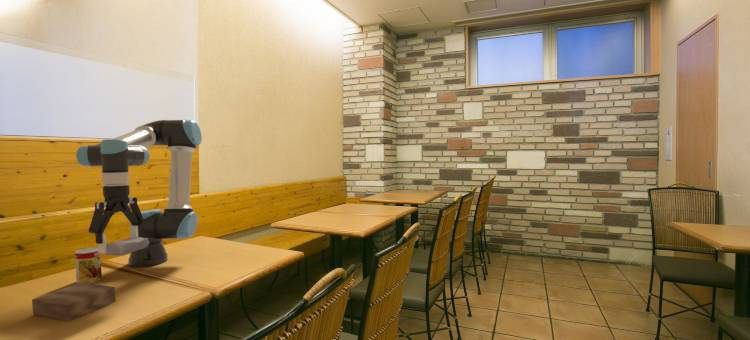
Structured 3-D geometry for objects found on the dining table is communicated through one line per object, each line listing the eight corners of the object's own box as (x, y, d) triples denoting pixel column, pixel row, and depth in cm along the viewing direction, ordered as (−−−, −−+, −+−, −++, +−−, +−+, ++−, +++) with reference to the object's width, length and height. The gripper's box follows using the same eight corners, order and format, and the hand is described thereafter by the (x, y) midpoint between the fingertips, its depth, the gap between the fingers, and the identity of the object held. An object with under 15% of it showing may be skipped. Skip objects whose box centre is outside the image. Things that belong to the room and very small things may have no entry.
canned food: (104, 280, 148) (102, 250, 147) (78, 285, 142) (76, 254, 142) (99, 275, 154) (97, 246, 153) (75, 280, 148) (73, 250, 147)
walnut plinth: (82, 296, 132) (81, 282, 132) (115, 301, 128) (114, 286, 128) (33, 315, 118) (32, 299, 118) (68, 321, 114) (67, 304, 113)
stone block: (98, 259, 125) (123, 255, 123) (95, 245, 125) (120, 240, 123) (129, 251, 137) (152, 247, 135) (126, 238, 137) (149, 233, 135)
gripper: (137, 181, 142) (140, 239, 143) (71, 188, 119) (75, 257, 120) (153, 181, 140) (156, 240, 141) (90, 188, 117) (94, 258, 118)
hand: (119, 248), depth 131 cm, fingers closed on stone block, 11 cm apart
